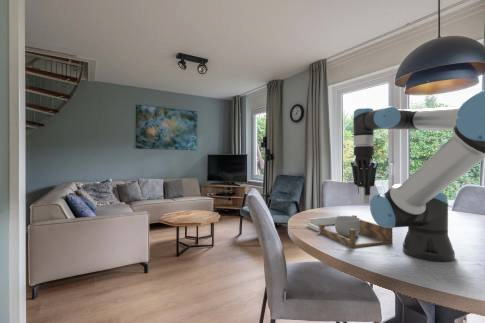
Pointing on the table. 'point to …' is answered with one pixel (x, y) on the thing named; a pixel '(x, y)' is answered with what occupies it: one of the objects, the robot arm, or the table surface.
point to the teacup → (347, 225)
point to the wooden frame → (366, 229)
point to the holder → (320, 222)
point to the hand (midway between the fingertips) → (364, 202)
